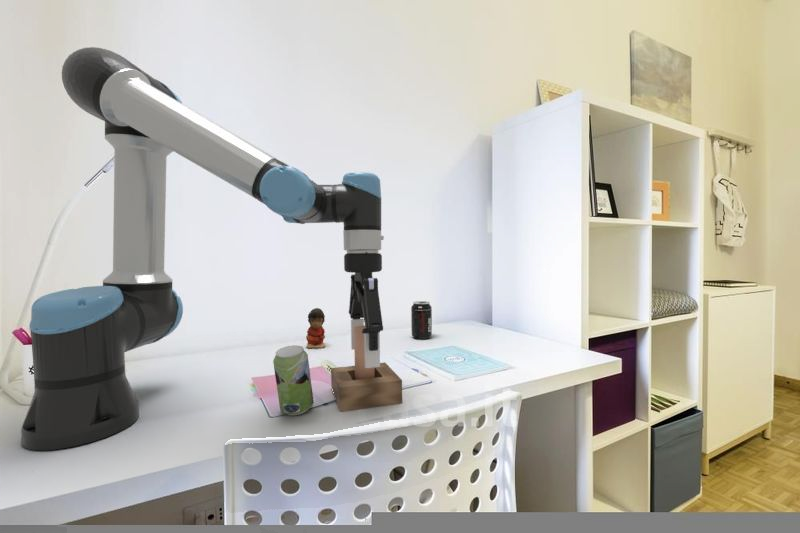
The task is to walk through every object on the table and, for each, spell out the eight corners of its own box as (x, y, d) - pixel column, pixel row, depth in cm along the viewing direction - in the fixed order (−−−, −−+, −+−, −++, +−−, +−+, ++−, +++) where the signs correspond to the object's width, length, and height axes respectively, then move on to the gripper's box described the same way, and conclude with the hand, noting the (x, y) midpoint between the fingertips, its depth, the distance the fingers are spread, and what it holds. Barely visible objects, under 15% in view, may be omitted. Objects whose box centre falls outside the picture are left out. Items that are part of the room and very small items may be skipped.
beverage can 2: (435, 338, 125) (435, 302, 124) (418, 341, 121) (418, 304, 121) (424, 334, 131) (424, 300, 130) (407, 337, 127) (407, 301, 127)
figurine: (302, 346, 116) (301, 308, 115) (318, 343, 120) (317, 306, 119) (312, 350, 111) (311, 310, 111) (328, 347, 115) (328, 308, 114)
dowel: (357, 400, 74) (356, 330, 73) (353, 393, 78) (352, 326, 77) (377, 398, 75) (376, 328, 74) (372, 390, 79) (371, 324, 78)
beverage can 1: (319, 405, 72) (317, 343, 71) (300, 422, 65) (299, 353, 64) (289, 402, 73) (287, 341, 73) (267, 419, 66) (266, 351, 65)
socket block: (340, 411, 69) (339, 387, 69) (331, 388, 80) (331, 368, 80) (402, 402, 72) (401, 380, 72) (385, 382, 84) (385, 362, 84)
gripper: (399, 252, 64) (401, 374, 65) (367, 251, 88) (368, 341, 89) (356, 252, 62) (358, 379, 63) (335, 252, 86) (336, 344, 87)
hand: (364, 357), depth 76 cm, fingers open, 13 cm apart
